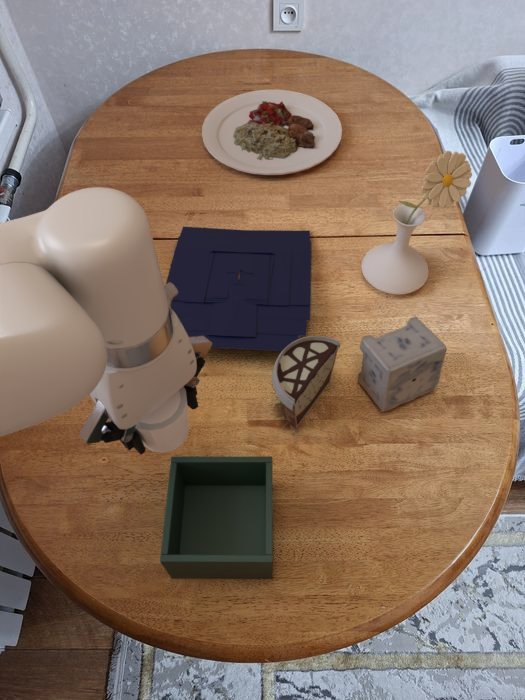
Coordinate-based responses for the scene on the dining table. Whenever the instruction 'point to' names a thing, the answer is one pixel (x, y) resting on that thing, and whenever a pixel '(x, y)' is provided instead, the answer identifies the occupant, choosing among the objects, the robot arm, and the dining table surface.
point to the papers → (243, 286)
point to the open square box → (219, 518)
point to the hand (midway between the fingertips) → (161, 421)
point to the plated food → (271, 132)
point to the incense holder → (401, 364)
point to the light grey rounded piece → (166, 424)
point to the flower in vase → (398, 257)
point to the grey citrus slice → (303, 375)
